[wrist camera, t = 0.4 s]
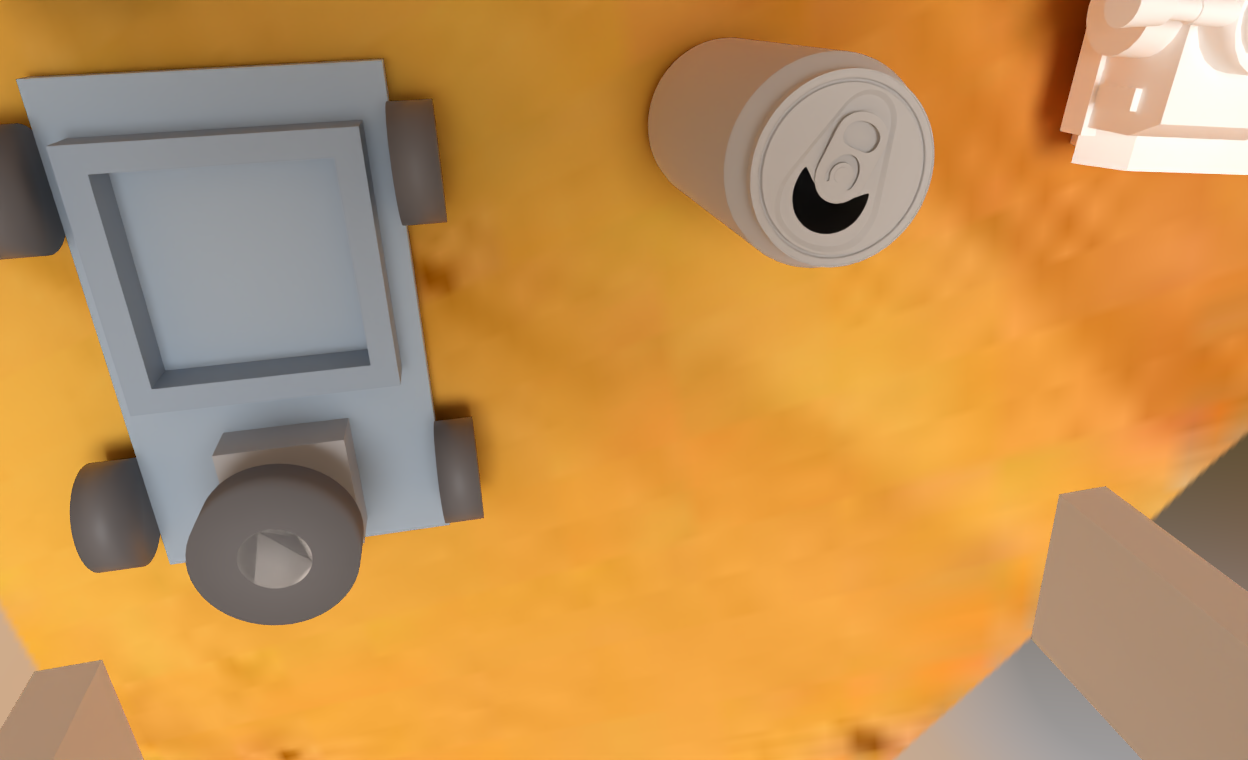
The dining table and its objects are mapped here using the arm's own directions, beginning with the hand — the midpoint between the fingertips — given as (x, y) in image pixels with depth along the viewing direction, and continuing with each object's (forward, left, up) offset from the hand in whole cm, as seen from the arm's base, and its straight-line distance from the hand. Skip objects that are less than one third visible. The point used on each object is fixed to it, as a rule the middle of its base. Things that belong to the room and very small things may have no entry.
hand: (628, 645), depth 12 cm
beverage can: (-3, +9, -26) cm, 28 cm away
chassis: (+4, -10, -26) cm, 28 cm away
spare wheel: (+10, -10, -22) cm, 26 cm away
